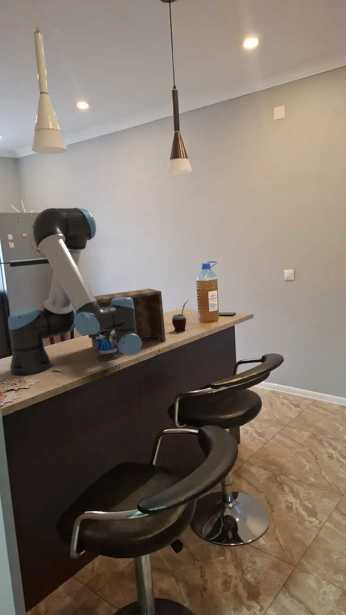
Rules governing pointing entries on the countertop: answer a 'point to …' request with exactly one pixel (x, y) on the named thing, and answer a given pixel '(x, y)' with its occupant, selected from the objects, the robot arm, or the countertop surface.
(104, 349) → the beer can
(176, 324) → the mate gourd
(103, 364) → the countertop surface
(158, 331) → the cubby
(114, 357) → the coaster
